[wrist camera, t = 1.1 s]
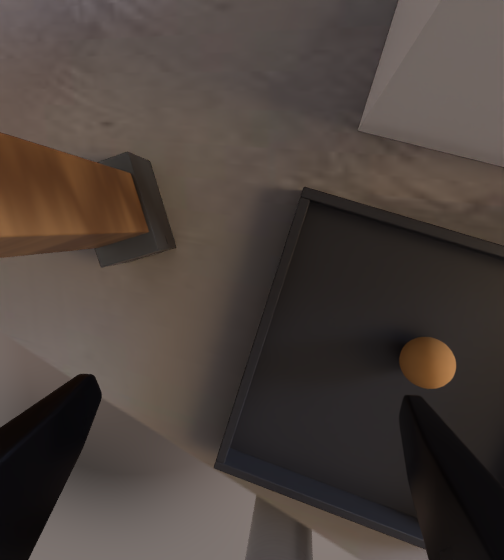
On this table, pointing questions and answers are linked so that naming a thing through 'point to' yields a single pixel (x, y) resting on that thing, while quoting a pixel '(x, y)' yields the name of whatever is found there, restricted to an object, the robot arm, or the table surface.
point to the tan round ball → (427, 362)
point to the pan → (366, 360)
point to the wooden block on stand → (79, 204)
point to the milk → (442, 79)
